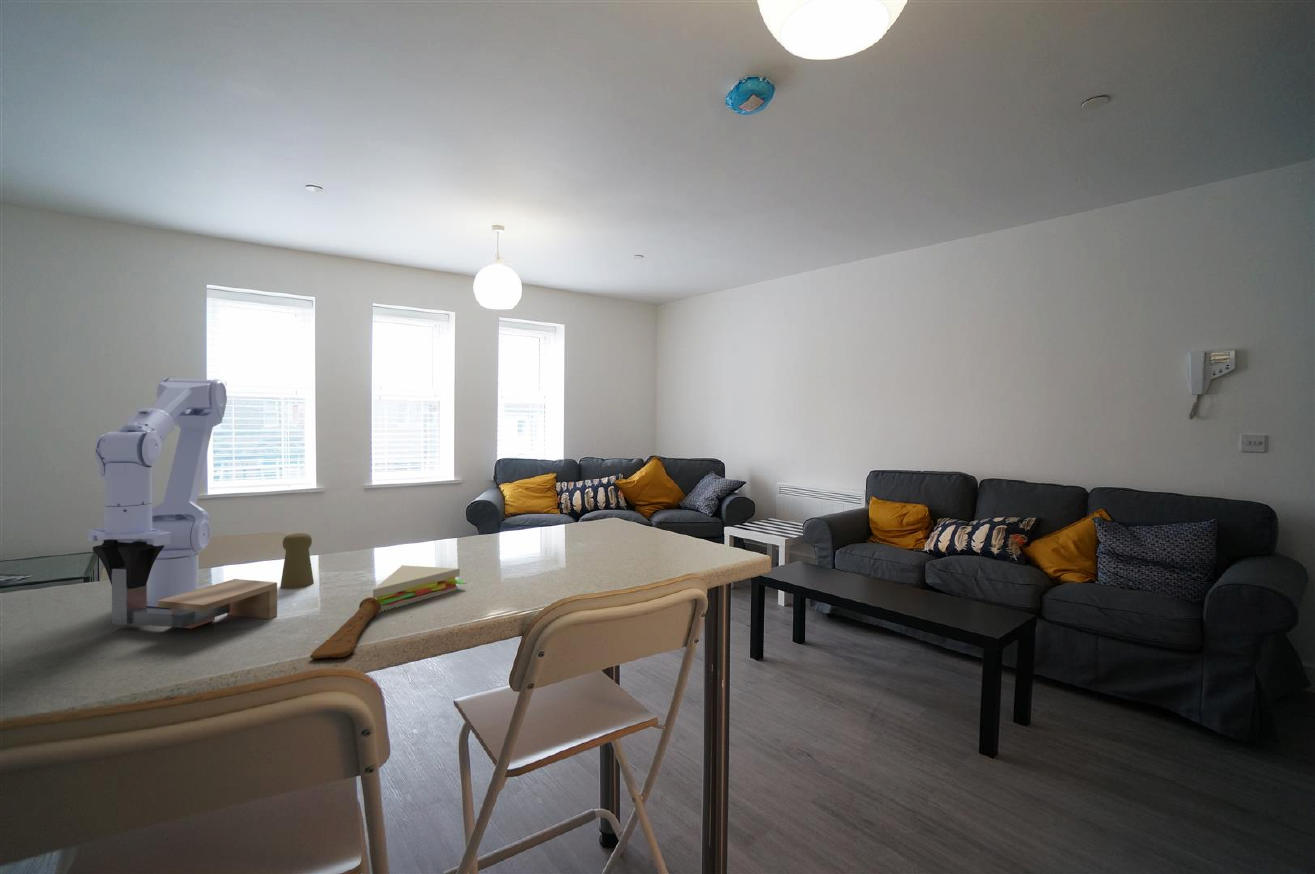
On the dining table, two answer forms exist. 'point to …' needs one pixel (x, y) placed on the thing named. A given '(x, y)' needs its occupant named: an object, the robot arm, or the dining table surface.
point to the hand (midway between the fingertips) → (129, 586)
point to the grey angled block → (133, 608)
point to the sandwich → (415, 585)
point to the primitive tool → (348, 632)
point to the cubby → (230, 598)
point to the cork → (297, 562)
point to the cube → (198, 622)
